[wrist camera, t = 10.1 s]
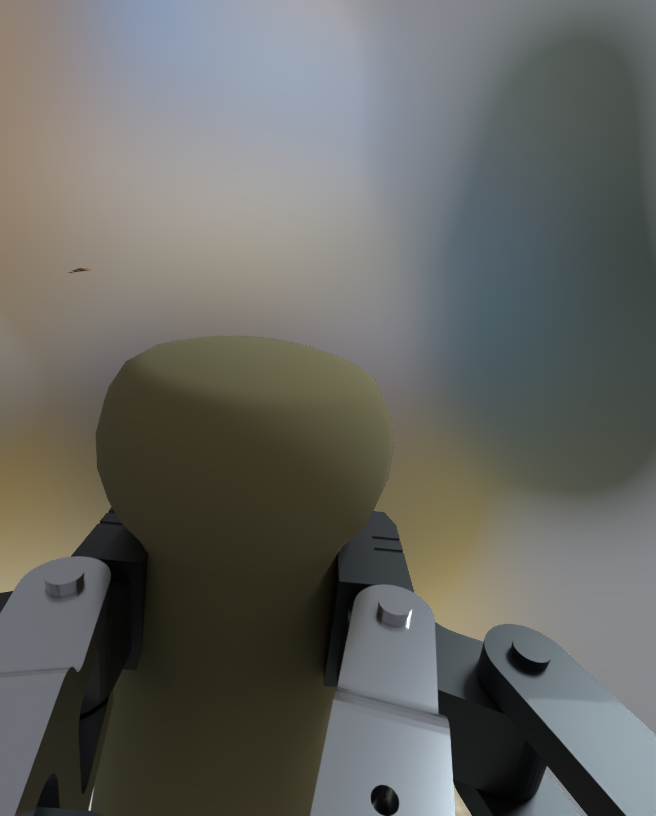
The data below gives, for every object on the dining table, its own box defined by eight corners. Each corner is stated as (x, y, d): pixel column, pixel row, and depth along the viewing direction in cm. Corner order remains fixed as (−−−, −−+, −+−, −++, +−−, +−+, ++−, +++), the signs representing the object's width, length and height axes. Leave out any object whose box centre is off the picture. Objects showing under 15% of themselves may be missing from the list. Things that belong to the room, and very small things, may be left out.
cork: (257, 1062, 8) (343, 437, 5) (21, 843, 10) (-35, 328, 7) (383, 751, 13) (466, 357, 10) (208, 654, 15) (227, 310, 12)
